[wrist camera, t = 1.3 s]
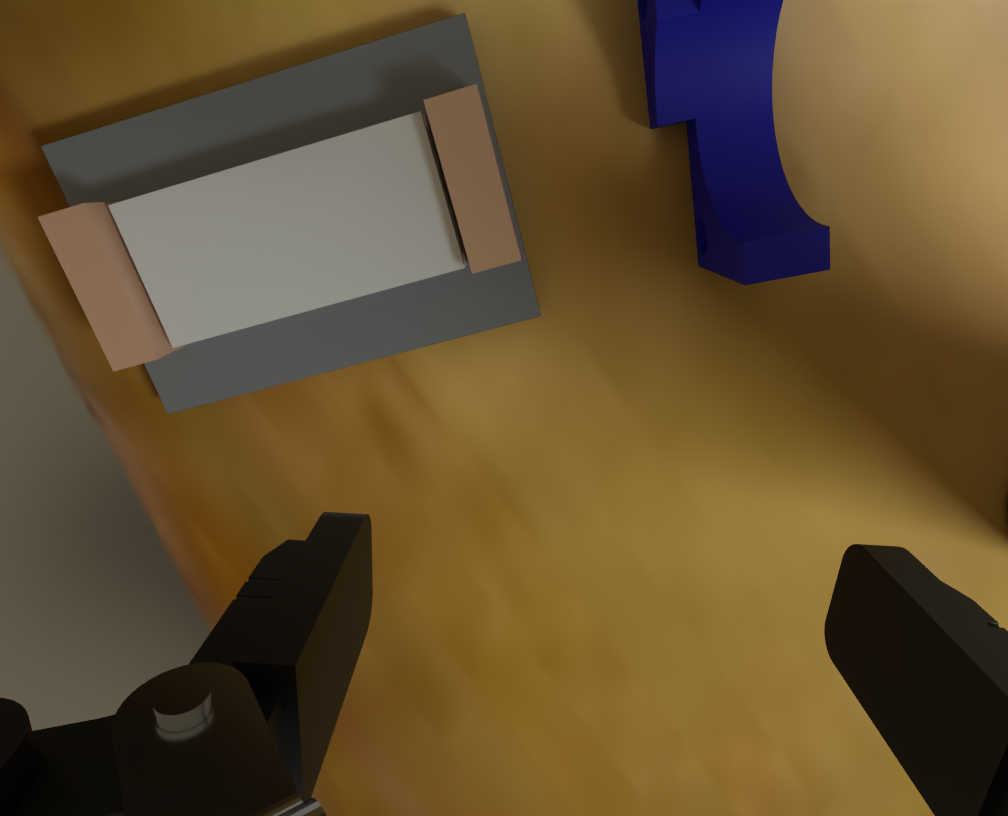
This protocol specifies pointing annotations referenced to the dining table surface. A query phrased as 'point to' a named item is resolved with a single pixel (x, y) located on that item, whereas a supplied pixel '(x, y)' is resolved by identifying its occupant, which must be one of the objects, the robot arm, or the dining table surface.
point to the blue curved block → (729, 134)
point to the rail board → (280, 132)
